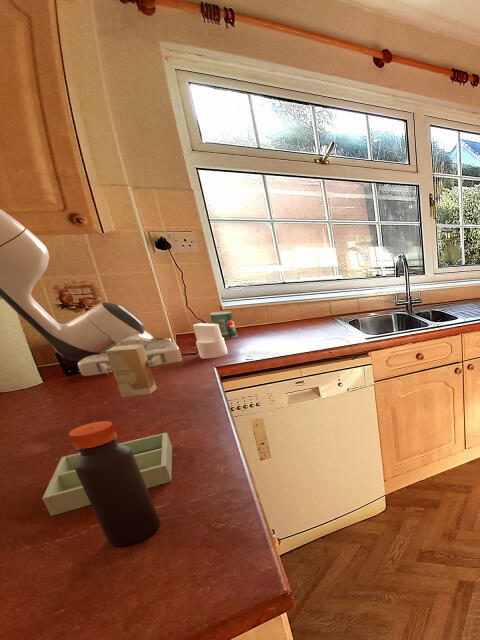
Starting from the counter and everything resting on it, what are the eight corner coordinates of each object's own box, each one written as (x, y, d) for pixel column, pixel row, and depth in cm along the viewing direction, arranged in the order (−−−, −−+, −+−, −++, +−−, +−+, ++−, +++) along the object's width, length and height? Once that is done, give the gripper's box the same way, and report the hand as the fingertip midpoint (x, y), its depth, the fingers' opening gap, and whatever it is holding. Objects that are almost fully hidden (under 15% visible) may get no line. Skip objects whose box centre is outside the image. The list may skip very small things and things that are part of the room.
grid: (50, 516, 76) (41, 498, 74) (69, 472, 89) (61, 456, 87) (171, 481, 85) (165, 465, 84) (172, 446, 98) (166, 432, 97)
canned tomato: (215, 337, 189) (208, 312, 185) (235, 333, 194) (229, 310, 189) (218, 340, 183) (211, 315, 179) (239, 337, 188) (233, 312, 184)
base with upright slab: (233, 351, 167) (225, 322, 163) (214, 359, 159) (205, 328, 155) (213, 350, 169) (205, 321, 164) (194, 357, 161) (184, 327, 156)
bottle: (142, 546, 68) (95, 438, 61) (97, 549, 68) (45, 440, 60) (170, 518, 75) (131, 417, 67) (129, 521, 74) (85, 419, 67)
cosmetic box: (121, 397, 105) (103, 351, 101) (128, 391, 109) (111, 346, 105) (152, 394, 108) (136, 348, 103) (158, 388, 111) (143, 343, 107)
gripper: (78, 349, 108) (68, 363, 98) (177, 337, 120) (177, 348, 109) (87, 372, 111) (78, 388, 100) (183, 358, 122) (184, 371, 112)
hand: (131, 367), depth 105 cm, fingers closed on cosmetic box, 7 cm apart
